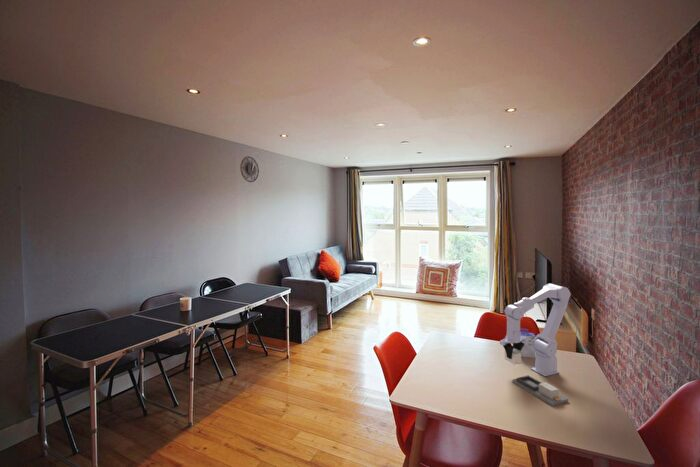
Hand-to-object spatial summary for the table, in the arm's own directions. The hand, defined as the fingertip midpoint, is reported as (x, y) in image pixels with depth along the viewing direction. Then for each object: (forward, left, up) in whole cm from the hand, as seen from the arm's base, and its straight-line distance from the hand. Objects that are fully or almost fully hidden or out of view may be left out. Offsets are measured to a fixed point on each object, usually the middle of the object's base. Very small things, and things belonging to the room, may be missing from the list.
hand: (512, 357), depth 153 cm
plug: (0, 0, -2) cm, 2 cm away
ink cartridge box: (-24, -14, -9) cm, 29 cm away
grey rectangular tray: (+1, +15, -9) cm, 17 cm away
